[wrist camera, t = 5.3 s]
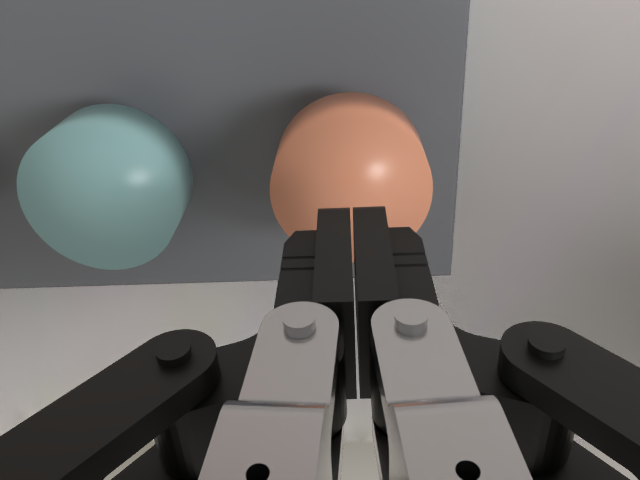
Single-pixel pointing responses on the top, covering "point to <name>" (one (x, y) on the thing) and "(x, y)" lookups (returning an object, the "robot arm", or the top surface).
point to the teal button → (106, 186)
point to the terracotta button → (350, 163)
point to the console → (222, 111)
